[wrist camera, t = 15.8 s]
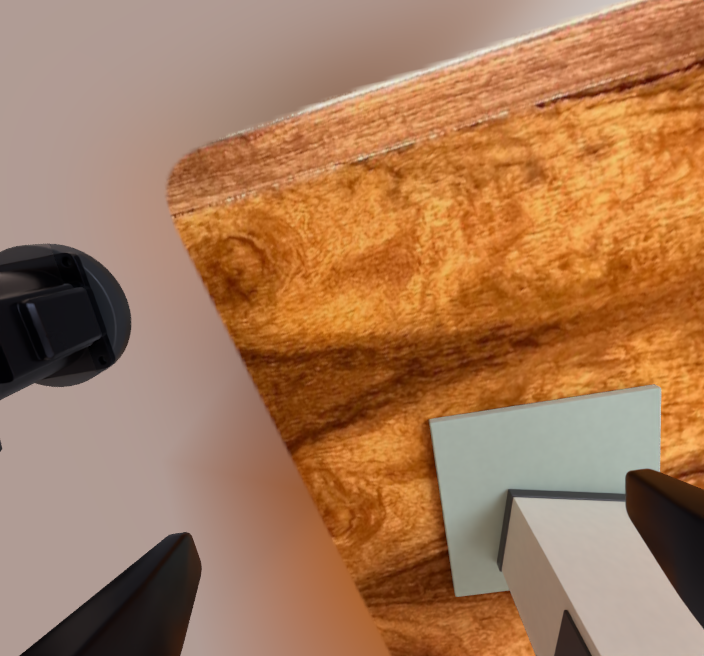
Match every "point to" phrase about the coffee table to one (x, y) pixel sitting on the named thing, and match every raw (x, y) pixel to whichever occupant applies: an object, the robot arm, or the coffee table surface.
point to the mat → (534, 465)
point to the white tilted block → (589, 579)
